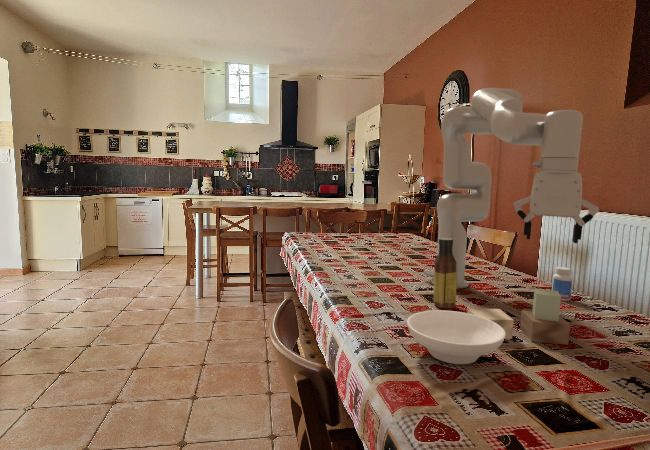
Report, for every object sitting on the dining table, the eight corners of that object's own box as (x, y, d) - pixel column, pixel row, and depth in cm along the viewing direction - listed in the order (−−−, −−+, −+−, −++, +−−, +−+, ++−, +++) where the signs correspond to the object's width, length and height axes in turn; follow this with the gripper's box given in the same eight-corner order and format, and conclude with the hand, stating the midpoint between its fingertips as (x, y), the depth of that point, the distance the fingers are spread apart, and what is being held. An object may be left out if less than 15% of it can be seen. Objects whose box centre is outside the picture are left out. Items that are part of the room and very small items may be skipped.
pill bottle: (573, 301, 127) (576, 270, 126) (554, 300, 128) (557, 269, 127) (566, 296, 133) (569, 267, 132) (548, 295, 134) (551, 265, 133)
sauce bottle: (455, 304, 122) (460, 237, 120) (455, 310, 116) (459, 241, 114) (433, 301, 124) (436, 236, 122) (431, 307, 118) (435, 239, 116)
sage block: (534, 318, 97) (536, 293, 96) (532, 312, 102) (534, 288, 101) (558, 321, 95) (560, 296, 95) (555, 315, 100) (557, 291, 99)
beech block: (477, 339, 97) (479, 319, 96) (466, 327, 104) (467, 308, 104) (511, 340, 96) (513, 320, 96) (498, 328, 104) (499, 308, 104)
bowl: (446, 388, 74) (448, 351, 73) (387, 345, 92) (389, 315, 91) (525, 369, 82) (528, 336, 81) (457, 333, 99) (459, 306, 99)
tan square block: (531, 342, 96) (533, 321, 95) (519, 329, 104) (521, 310, 103) (568, 345, 95) (570, 324, 94) (554, 332, 102) (555, 312, 102)
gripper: (516, 165, 94) (510, 239, 97) (606, 167, 87) (597, 246, 90) (516, 165, 101) (510, 235, 103) (600, 167, 94) (591, 241, 96)
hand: (551, 240), depth 97 cm, fingers open, 9 cm apart
